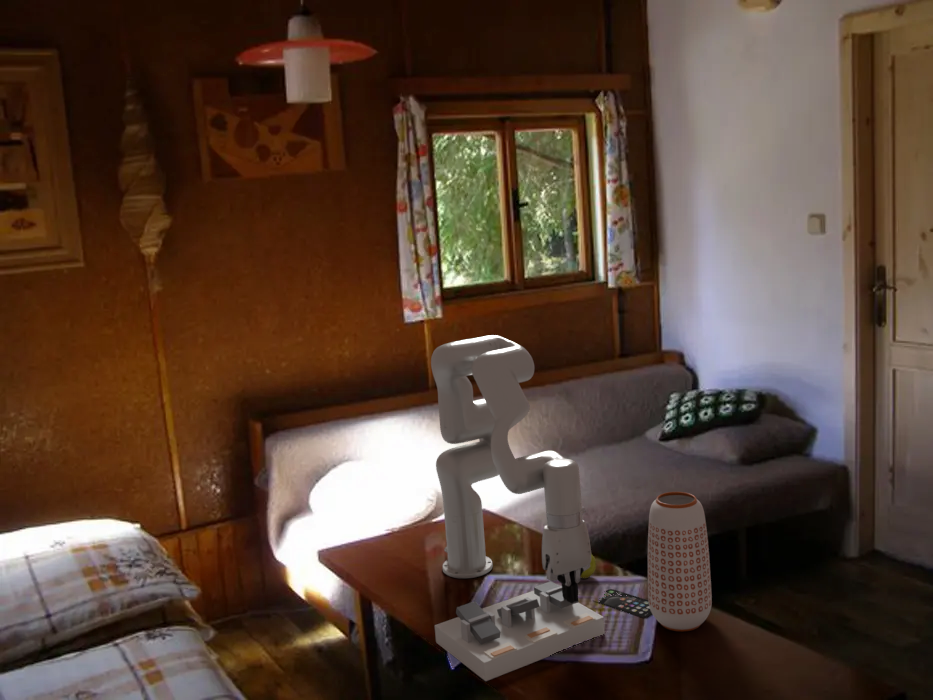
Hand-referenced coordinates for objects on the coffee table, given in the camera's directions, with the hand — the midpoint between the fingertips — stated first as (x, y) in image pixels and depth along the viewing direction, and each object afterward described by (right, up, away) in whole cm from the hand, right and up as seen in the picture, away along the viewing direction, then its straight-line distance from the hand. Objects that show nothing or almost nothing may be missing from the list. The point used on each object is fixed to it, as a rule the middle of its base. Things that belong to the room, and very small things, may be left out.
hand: (570, 600), depth 210 cm
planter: (+24, -6, +3) cm, 25 cm away
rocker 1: (-20, -3, -5) cm, 21 cm away
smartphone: (+14, -5, +13) cm, 20 cm away
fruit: (+6, -2, +28) cm, 29 cm away
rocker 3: (-3, 0, +5) cm, 6 cm away
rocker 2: (-11, -2, 0) cm, 11 cm away
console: (-11, -8, +1) cm, 14 cm away
